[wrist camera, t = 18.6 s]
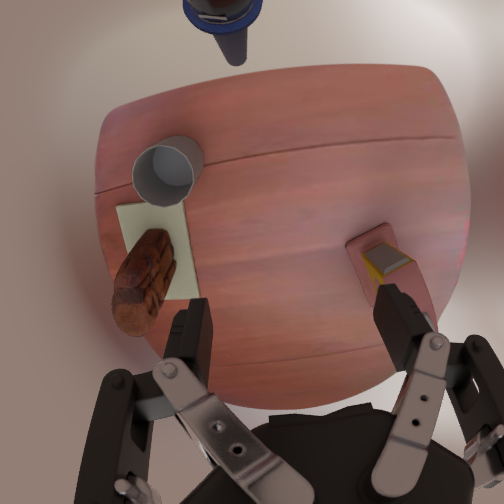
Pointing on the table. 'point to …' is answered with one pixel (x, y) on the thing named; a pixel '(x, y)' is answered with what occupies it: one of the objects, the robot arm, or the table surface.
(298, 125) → the table surface
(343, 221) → the table surface
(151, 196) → the cup
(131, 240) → the mat
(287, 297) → the table surface
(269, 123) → the table surface
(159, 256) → the wooden figurine
